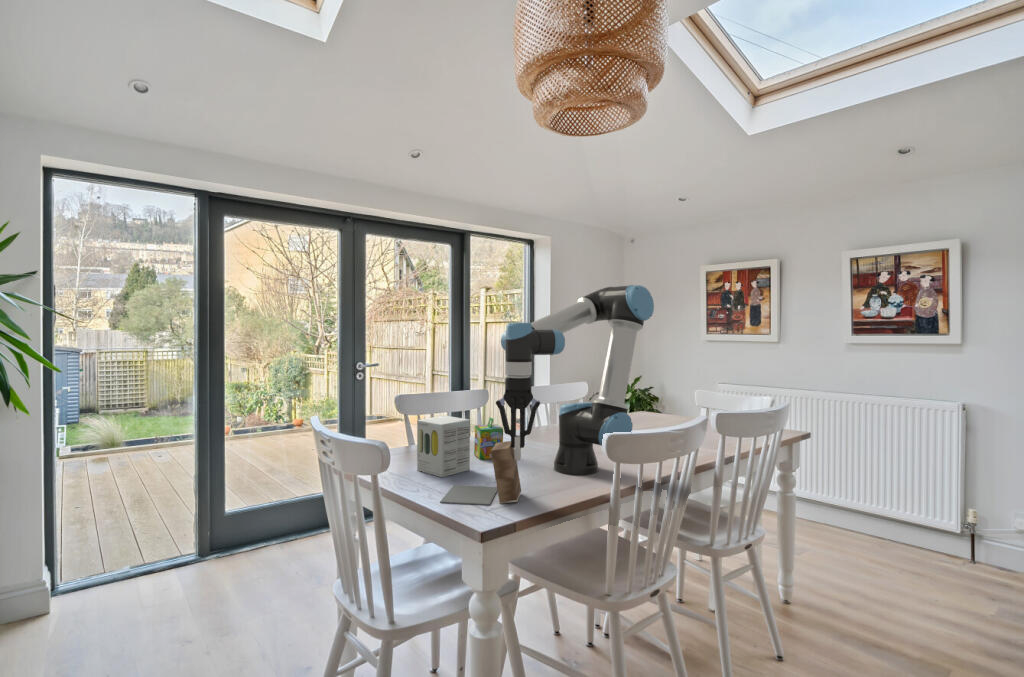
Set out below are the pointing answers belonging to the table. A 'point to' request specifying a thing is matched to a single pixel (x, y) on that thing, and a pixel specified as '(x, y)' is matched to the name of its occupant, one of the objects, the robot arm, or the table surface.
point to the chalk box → (486, 439)
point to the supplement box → (443, 445)
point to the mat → (470, 495)
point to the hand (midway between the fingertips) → (517, 458)
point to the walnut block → (506, 472)
